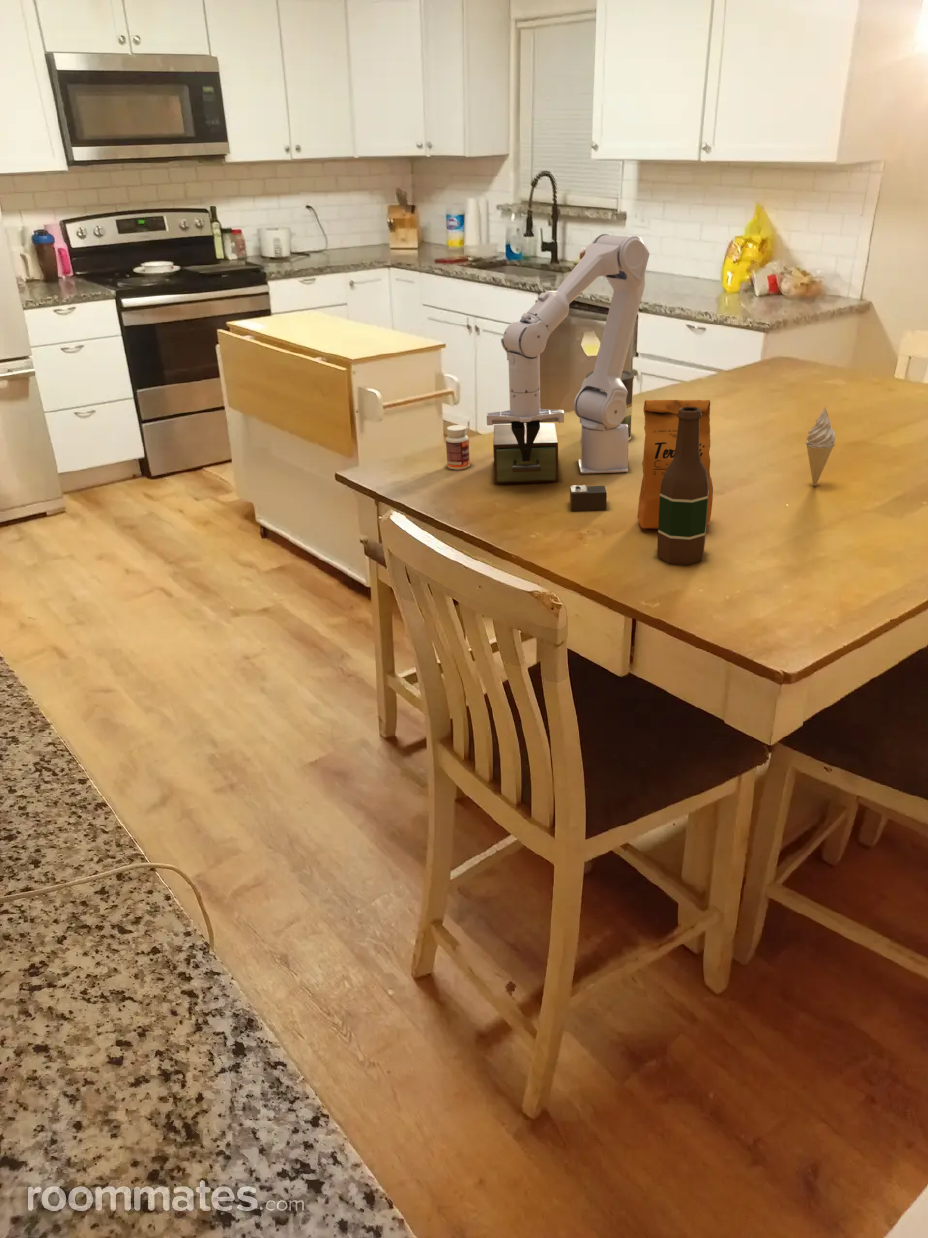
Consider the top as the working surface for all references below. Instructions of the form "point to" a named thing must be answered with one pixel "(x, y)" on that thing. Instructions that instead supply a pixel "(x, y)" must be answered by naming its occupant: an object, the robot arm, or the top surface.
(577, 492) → the dark brown box
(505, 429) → the cabinet
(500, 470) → the drawer
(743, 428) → the top surface
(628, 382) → the coffee can
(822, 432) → the ice cream cone
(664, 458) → the coffee package
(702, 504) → the beer bottle
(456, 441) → the pill bottle
